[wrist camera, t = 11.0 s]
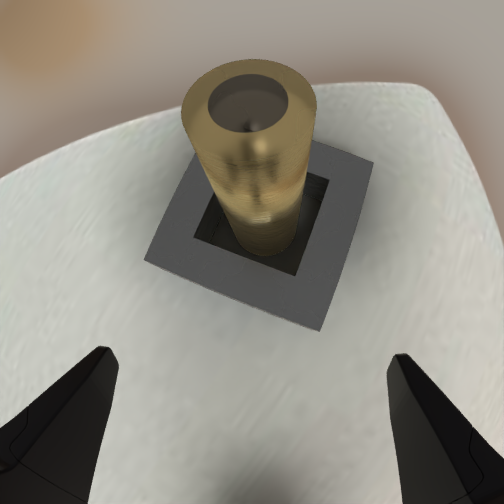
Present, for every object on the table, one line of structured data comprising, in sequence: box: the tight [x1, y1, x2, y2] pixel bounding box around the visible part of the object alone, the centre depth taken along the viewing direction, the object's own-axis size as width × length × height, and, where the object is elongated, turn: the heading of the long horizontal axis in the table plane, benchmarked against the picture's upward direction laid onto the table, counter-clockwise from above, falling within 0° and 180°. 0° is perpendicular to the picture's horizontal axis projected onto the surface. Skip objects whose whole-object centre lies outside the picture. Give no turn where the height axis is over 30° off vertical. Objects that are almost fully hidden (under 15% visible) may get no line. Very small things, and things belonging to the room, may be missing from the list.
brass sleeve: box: [181, 59, 317, 256], centre depth 15 cm, size 4×4×13 cm
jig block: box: [144, 140, 374, 332], centre depth 20 cm, size 11×11×4 cm
